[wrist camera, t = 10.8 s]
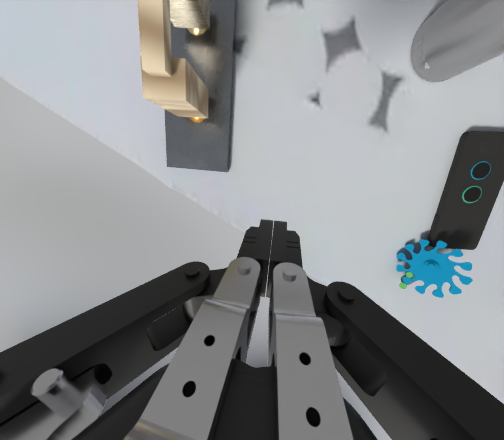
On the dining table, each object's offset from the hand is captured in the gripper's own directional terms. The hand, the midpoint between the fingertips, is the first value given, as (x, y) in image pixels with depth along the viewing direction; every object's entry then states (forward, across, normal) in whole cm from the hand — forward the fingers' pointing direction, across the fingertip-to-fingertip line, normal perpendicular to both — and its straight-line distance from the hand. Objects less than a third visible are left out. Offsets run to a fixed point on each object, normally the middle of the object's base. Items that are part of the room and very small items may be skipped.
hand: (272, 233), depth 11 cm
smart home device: (+28, -33, +5) cm, 44 cm away
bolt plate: (+27, +15, -10) cm, 32 cm away
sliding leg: (+26, +15, -15) cm, 34 cm away
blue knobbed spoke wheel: (+25, -28, +18) cm, 41 cm away
